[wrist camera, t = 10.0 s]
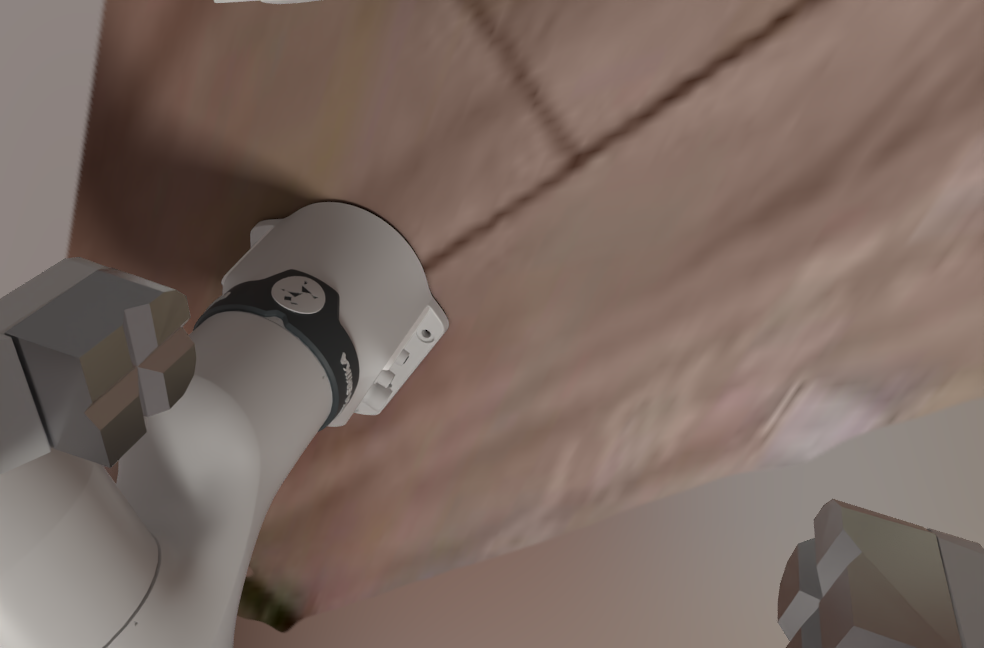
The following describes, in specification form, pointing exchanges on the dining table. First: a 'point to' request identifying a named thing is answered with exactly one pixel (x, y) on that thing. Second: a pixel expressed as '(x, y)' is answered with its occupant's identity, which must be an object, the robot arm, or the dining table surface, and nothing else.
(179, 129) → the dining table surface
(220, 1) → the milk carton
